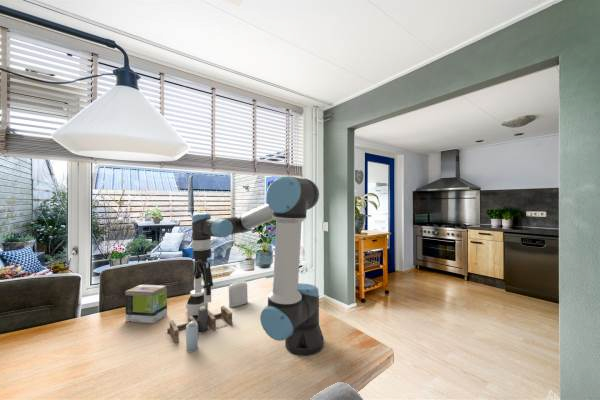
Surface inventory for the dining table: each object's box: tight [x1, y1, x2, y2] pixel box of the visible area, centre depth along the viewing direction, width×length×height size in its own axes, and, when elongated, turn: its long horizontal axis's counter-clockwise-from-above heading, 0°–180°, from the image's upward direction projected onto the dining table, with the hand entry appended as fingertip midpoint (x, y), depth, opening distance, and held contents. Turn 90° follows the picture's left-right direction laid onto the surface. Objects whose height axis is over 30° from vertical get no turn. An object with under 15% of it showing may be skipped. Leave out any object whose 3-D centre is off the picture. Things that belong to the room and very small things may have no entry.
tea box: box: [124, 284, 168, 324], centre depth 121 cm, size 15×10×15 cm, turn 80°
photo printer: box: [228, 280, 249, 308], centre depth 135 cm, size 10×4×12 cm, turn 127°
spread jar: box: [185, 288, 209, 319], centre depth 125 cm, size 12×11×12 cm
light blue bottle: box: [185, 321, 199, 352], centre depth 96 cm, size 4×4×10 cm
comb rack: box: [166, 305, 233, 344], centre depth 111 cm, size 11×26×5 cm, turn 128°
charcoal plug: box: [197, 306, 209, 334], centre depth 109 cm, size 4×4×10 cm
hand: (202, 297), depth 109 cm, fingers open, 13 cm apart
